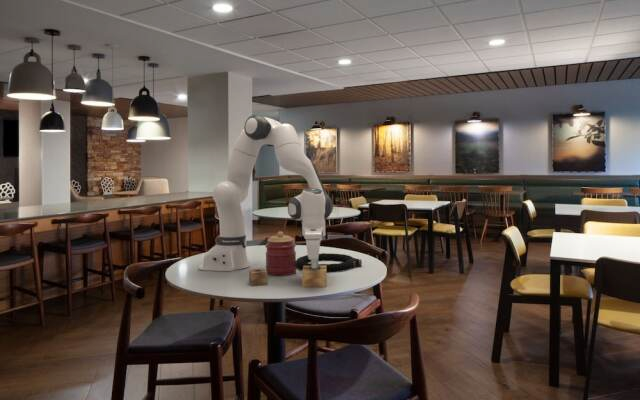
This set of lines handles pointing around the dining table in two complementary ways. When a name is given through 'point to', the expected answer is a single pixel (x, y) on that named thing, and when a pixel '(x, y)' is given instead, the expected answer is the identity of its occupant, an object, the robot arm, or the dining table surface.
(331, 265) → the cable lock
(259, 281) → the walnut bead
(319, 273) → the wooden square frame
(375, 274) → the dining table surface
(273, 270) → the canister
